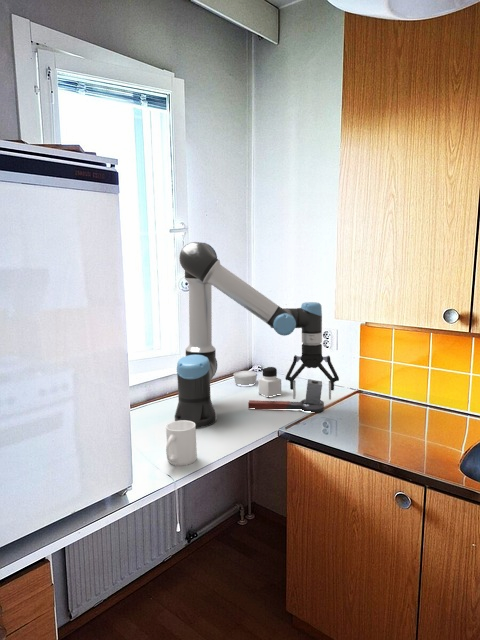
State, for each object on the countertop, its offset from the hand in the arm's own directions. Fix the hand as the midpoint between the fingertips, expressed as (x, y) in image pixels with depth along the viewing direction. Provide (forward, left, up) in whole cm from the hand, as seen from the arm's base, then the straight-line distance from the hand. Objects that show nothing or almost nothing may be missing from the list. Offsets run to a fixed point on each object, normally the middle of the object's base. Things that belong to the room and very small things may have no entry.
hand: (312, 398), depth 178 cm
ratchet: (-10, 0, -5) cm, 11 cm away
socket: (0, 0, -1) cm, 1 cm away
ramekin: (-31, +34, -5) cm, 46 cm away
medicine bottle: (-18, +18, -5) cm, 26 cm away
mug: (-38, -50, -5) cm, 63 cm away
